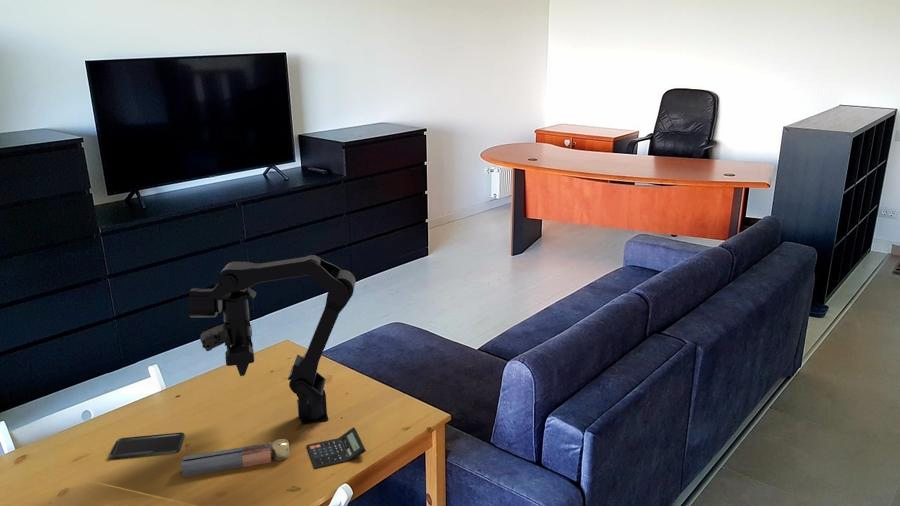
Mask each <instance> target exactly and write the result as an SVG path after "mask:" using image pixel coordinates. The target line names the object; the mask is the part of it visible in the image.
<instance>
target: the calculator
mask: <svg viewBox="0 0 900 506" xmlns="http://www.w3.org/2000/svg"><path fill="white" fill-rule="evenodd" d="M306 448H307V451H308V454H309V456H310V457H309V458H310V459H311V462H312V466H313V468H314V469H315V470H316V469H320V468H324V467H329V466H333V465H339V464H343V463H347V462H352V461H353V460H355V459H357V458H358V457H359V456H361V455H362V454H364V453H366V452H367V450H366V448H365V446H364V444H363V441H362V440H361V438H360V436H359V433H358V431H357V430H356V428H355V426H353V427H352V428H350V429H349V430H348V431H346V432H345V433H344V434H342V435H341V436H339V437H337V438H332V439H329V440H323V441H317V442H314V443H309V444H306Z"/></svg>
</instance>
